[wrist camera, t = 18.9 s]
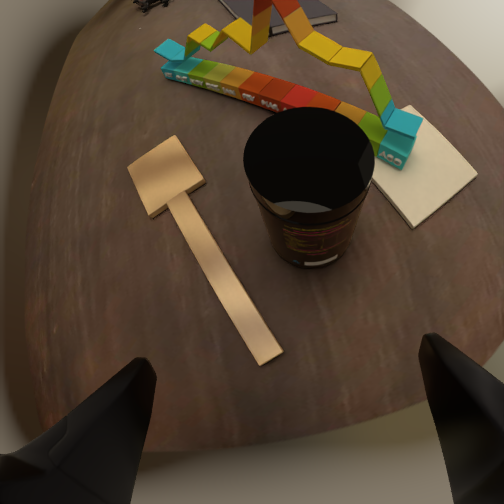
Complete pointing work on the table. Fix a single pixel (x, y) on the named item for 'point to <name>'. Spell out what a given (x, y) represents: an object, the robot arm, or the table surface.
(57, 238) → the table surface
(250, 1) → the notebook
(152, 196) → the spatula
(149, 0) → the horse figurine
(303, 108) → the supplement container
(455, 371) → the robot arm
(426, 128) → the napkin
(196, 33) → the chart
